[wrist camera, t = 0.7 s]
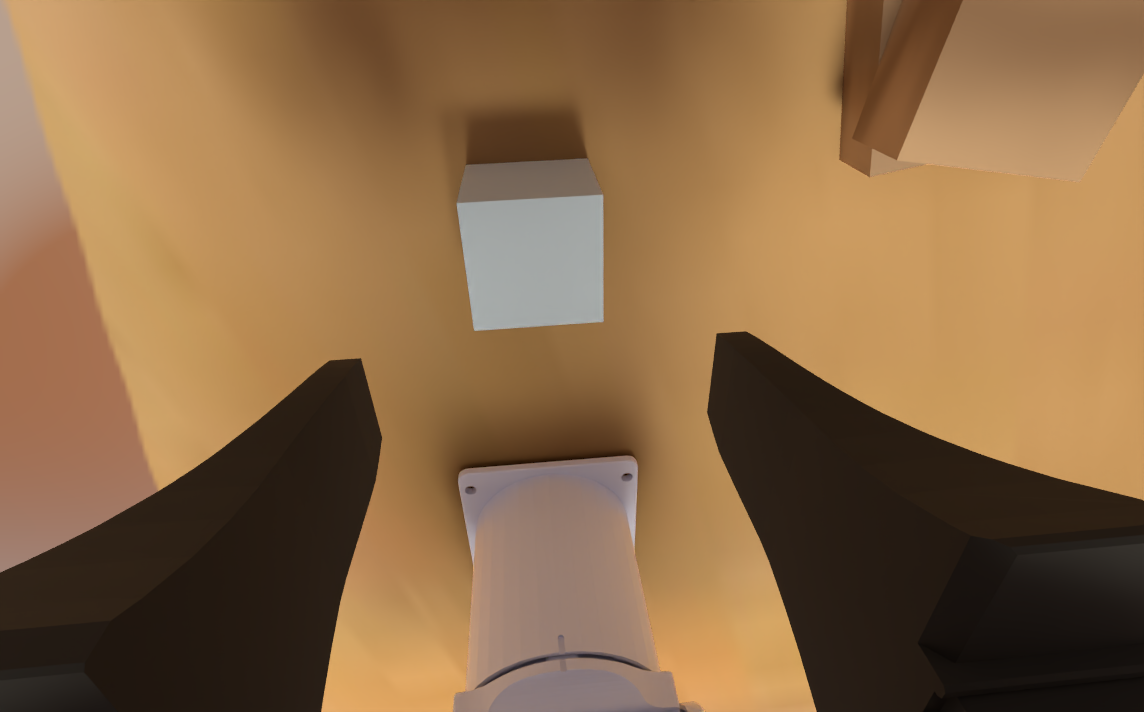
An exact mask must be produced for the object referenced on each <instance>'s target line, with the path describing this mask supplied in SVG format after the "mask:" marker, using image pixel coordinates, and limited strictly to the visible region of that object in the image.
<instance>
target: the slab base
mask: <svg viewBox="0 0 1144 712" xmlns="http://www.w3.org/2000/svg"><path fill="white" fill-rule="evenodd" d="M901 3H902V0H847V12H846V33H845V54H844V75H843V96H842V117H841V138H840V159H839V160H841V161H842V162H844V163H846V164H848V165H849V166H851V167H853V168H855V169H856V170H858V171H860V172H862V173H863V174H865V175H867V176H869V177H873V176H877V175H882V174H886V173H891V172H895V171H899V170H904V169H908V168H913V167H917V166H922V165H926V164H922V163H914V162H905V161H897V160H895V159H893V158H891V157H889V156H887V155H885V154H883V153H880V152H878V151H876V150H874V149H872V148H870V147H868V146H866V145H864V144H862V143H860V142H858V141H856V140H854V139H852V137H853V134H854V132H855V129H856V126H857V123H858V121H859V118H860V115H861V112H862V110H863V107H864V104H865V102H866V99H867V96H868V93H869V91H870V88H871V85H872V82H873V80H874V77H875V74H876V72H877V69H878V66H879V63H880V61H881V58H882V55H883V52H884V50H885V47H886V44H887V41H888V39H889V36H890V33H891V31H892V28H893V25H894V22H895V20H896V17H897V14H898V11H899V9H900V6H901Z"/></svg>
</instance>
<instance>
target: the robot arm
mask: <svg viewBox="0 0 1144 712" xmlns="http://www.w3.org/2000/svg"><path fill="white" fill-rule="evenodd" d="M707 413H708V417H709V420H710V424H711V427H712V430H713V434H714V437H715V440H716V443H717V446H718V450H719V453H720V455H721V457H722V459H723V462H724V464H725V466H726V468H727V470H728V473H729V475H730V477H731V479H732V481H733V483H734V486H735V488H736V490H737V492H738V494H739V496H740V498H741V500H742V502H743V505H744V507H745V509H746V511H747V513H748V515H749V517H750V519H751V521H752V524H753V526H754V528H755V530H756V532H757V534H758V536H759V538H760V541H761V543H762V545H763V548H764V550H765V552H766V555H767V557H768V560H769V562H770V565H771V568H772V571H773V574H774V577H775V580H776V582H777V585H778V588H779V591H780V594H781V597H782V600H783V603H784V606H785V609H786V612H787V615H788V618H789V621H790V624H791V628H792V631H793V634H794V637H795V640H796V643H797V646H798V649H799V653H800V656H801V659H802V663H803V666H804V669H805V673H806V676H807V680H808V683H809V687H810V690H811V693H812V697H813V700H814V704H815V707H816V710H817V712H1144V501H1143V500H1141V499H1137V498H1133V497H1129V496H1125V495H1121V494H1117V493H1113V492H1109V491H1105V490H1101V489H1097V488H1093V487H1089V486H1085V485H1081V484H1077V483H1073V482H1069V481H1065V480H1061V479H1057V478H1054V477H1050V476H1047V475H1044V474H1040V473H1037V472H1034V471H1030V470H1027V469H1024V468H1021V467H1017V466H1014V465H1011V464H1008V463H1005V462H1002V461H999V460H996V459H993V458H990V457H987V456H984V455H981V454H978V453H976V452H973V451H970V450H968V449H965V448H962V447H960V446H957V445H955V444H952V443H949V442H947V441H944V440H941V439H939V438H937V437H934V436H932V435H929V434H927V433H925V432H922V431H920V430H918V429H915V428H913V427H911V426H909V425H907V424H905V423H903V422H900V421H898V420H896V419H894V418H892V417H890V416H887V415H885V414H883V413H881V412H879V411H877V410H875V409H873V408H871V407H870V406H868V405H866V404H864V403H862V402H860V401H859V400H857V399H855V398H853V397H851V396H850V395H848V394H846V393H844V392H842V391H841V390H839V389H837V388H836V387H834V386H832V385H831V384H829V383H827V382H825V381H824V380H822V379H821V378H819V377H817V376H816V375H814V374H813V373H811V372H809V371H808V370H806V369H805V368H803V367H802V366H800V365H798V364H797V363H795V362H794V361H792V360H791V359H789V358H788V357H786V356H785V355H783V354H782V353H780V352H779V351H777V350H775V349H774V348H772V347H771V346H769V345H768V344H766V343H765V342H763V341H762V340H760V339H758V338H757V337H755V336H753V335H752V334H750V333H748V332H731V333H717V336H716V344H715V353H714V361H713V369H712V377H711V386H710V394H709V402H708V411H707ZM381 441H382V436H381V432H380V428H379V425H378V421H377V417H376V413H375V410H374V406H373V402H372V398H371V395H370V391H369V387H368V383H367V379H366V376H365V372H364V368H363V364H362V361H361V358H360V359H345V360H331V361H329V362H327V363H326V364H325V365H323V366H322V367H321V368H319V369H318V370H317V371H316V372H315V373H313V374H312V375H311V376H310V377H309V378H308V379H306V380H305V381H304V382H303V383H302V384H301V385H299V386H298V387H297V388H296V389H295V390H294V391H293V392H291V393H290V394H289V395H288V396H287V397H286V398H284V399H283V400H282V401H281V402H280V403H278V404H277V405H276V406H275V407H274V408H273V409H271V410H270V411H269V412H268V413H267V414H266V415H264V416H263V417H262V418H261V419H260V420H258V421H257V422H256V423H254V424H253V425H252V426H251V427H249V428H248V429H247V430H245V431H244V432H243V433H242V434H240V435H239V436H238V437H236V438H235V439H234V440H232V441H231V442H230V443H229V444H227V445H226V446H225V447H223V448H222V449H221V450H220V451H218V452H217V453H215V454H214V455H213V456H211V457H210V458H209V459H207V460H206V461H204V462H203V463H201V464H200V465H198V466H197V467H196V468H194V469H193V470H191V471H190V472H188V473H186V474H185V475H183V476H182V477H180V478H179V479H177V480H176V481H174V482H173V483H171V484H169V485H168V486H166V487H165V488H163V489H161V490H160V491H158V492H157V493H155V494H153V495H151V496H150V497H148V498H146V499H144V500H143V501H141V502H139V503H137V504H136V505H134V506H132V507H131V508H129V509H127V510H125V511H123V512H122V513H120V514H118V515H116V516H114V517H113V518H111V519H109V520H107V521H106V522H104V523H102V524H100V525H98V526H97V527H94V528H93V529H91V530H89V531H87V532H85V533H83V534H81V535H79V536H77V537H75V538H73V539H71V540H69V541H67V542H65V543H63V544H61V545H59V546H57V547H55V548H52V549H50V550H48V551H46V552H44V553H42V554H40V555H38V556H36V557H33V558H31V559H29V560H27V561H25V562H23V563H21V564H18V565H16V566H14V567H12V568H9V569H7V570H5V571H3V572H1V573H0V712H321V708H322V702H323V696H324V690H325V684H326V678H327V672H328V666H329V660H330V654H331V648H332V642H333V637H334V632H335V627H336V621H337V616H338V611H339V605H340V600H341V596H342V593H343V589H344V585H345V581H346V577H347V574H348V571H349V567H350V564H351V561H352V558H353V554H354V551H355V548H356V544H357V541H358V538H359V535H360V531H361V528H362V525H363V522H364V518H365V515H366V512H367V508H368V505H369V502H370V498H371V495H372V491H373V488H374V484H375V481H376V475H377V469H378V463H379V456H380V448H381ZM626 473H630V474H629V475H626V476H625V475H623V474H626ZM637 481H638V465H637V461H636V459H635V458H634V457H632V456H615V457H603V458H590V459H578V460H566V461H553V462H541V463H529V464H516V465H504V466H492V467H479V468H468V469H464V470H462V471H461V472H460V473H459V477H458V485H459V491H460V496H461V502H462V507H463V512H464V518H465V523H466V529H467V534H468V539H469V545H470V550H471V556H472V561H473V583H472V598H471V614H470V630H469V645H468V661H467V676H466V692H459V693H456V694H455V695H454V704H453V712H706V711H705V710H704V709H703V707H702V706H701V705H699V704H698V703H697V702H686V703H679V701H678V697H677V693H676V688H675V684H674V680H673V675H672V673H671V672H670V671H662V672H660V667H659V662H658V658H657V653H656V648H655V644H654V639H653V634H652V630H651V625H650V620H649V616H648V611H647V606H646V602H645V597H644V592H643V588H642V583H641V578H640V574H639V569H638V564H637V560H636V555H635V527H636V504H637ZM469 486H473V487H475V488H468V487H469Z"/></svg>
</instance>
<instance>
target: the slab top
mask: <svg viewBox="0 0 1144 712" xmlns="http://www.w3.org/2000/svg"><path fill="white" fill-rule="evenodd" d="M1143 74H1144V0H902V3H901V6H900V9H899V11H898V14H897V17H896V20H895V22H894V25H893V28H892V31H891V33H890V36H889V39H888V41H887V44H886V47H885V50H884V52H883V55H882V58H881V61H880V63H879V66H878V69H877V72H876V74H875V77H874V80H873V82H872V85H871V88H870V91H869V93H868V96H867V99H866V102H865V104H864V107H863V110H862V112H861V115H860V118H859V121H858V123H857V126H856V129H855V132H854V134H853V137H852V139H854V140H856V141H858V142H860V143H862V144H864V145H866V146H868V147H870V148H872V149H874V150H876V151H878V152H880V153H883V154H885V155H887V156H889V157H891V158H893V159H895V160H897V161H905V162H914V163H922V164H930V165H939V166H947V167H956V168H964V169H972V170H981V171H989V172H997V173H1006V174H1014V175H1023V176H1031V177H1039V178H1048V179H1056V180H1064V181H1073V182H1081V180H1082V178H1083V177H1084V175H1085V173H1086V171H1087V170H1088V168H1089V166H1090V165H1091V163H1092V161H1093V159H1094V158H1095V156H1096V154H1097V153H1098V151H1099V149H1100V148H1101V146H1102V144H1103V142H1104V141H1105V139H1106V137H1107V136H1108V134H1109V132H1110V130H1111V129H1112V127H1113V125H1114V124H1115V122H1116V120H1117V119H1118V117H1119V115H1120V113H1121V112H1122V110H1123V108H1124V107H1125V105H1126V103H1127V101H1128V100H1129V98H1130V96H1131V95H1132V93H1133V91H1134V90H1135V88H1136V86H1137V84H1138V83H1139V81H1140V79H1141V78H1142V76H1143Z"/></svg>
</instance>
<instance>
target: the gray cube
mask: <svg viewBox="0 0 1144 712" xmlns="http://www.w3.org/2000/svg"><path fill="white" fill-rule="evenodd" d="M457 211H458V218H459V225H460V232H461V239H462V247H463V254H464V261H465V268H466V275H467V283H468V290H469V297H470V304H471V311H472V319H473V326H474V331H480V330H494V329H508V328H523V327H537V326H551V325H566V324H580V323H594V322H604V318H603V193H602V191H601V188H600V186H599V184H598V181H597V179H596V177H595V174H594V172H593V170H592V167H591V165H590V162H589V160H588V158H583V159H564V160H545V161H527V162H508V163H489V164H471V165H466V166H465V170H464V174H463V178H462V182H461V186H460V191H459V195H458V199H457Z"/></svg>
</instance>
